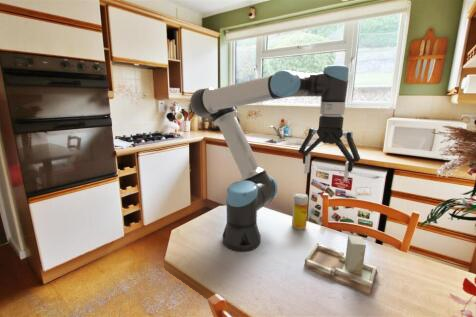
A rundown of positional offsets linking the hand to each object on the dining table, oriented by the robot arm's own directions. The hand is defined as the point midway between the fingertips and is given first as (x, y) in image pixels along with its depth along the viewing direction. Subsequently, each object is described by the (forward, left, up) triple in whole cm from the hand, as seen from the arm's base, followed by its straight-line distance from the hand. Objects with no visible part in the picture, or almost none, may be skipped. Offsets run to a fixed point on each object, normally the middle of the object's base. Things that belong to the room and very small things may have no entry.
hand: (325, 176), depth 87 cm
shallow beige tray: (+10, -7, -29) cm, 31 cm away
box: (+14, -7, -28) cm, 32 cm away
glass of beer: (-12, +10, -29) cm, 33 cm away
